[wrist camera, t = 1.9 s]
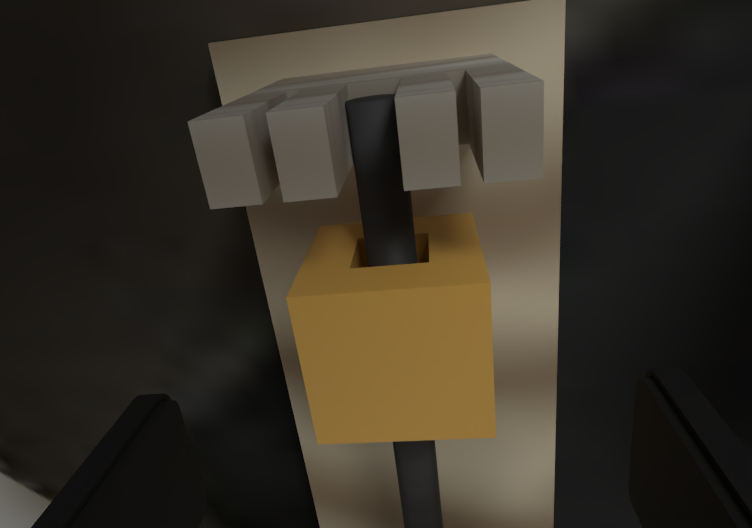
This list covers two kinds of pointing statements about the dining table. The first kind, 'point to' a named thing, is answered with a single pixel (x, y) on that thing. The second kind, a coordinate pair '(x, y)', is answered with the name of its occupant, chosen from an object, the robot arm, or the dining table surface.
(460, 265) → the sleeve
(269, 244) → the cord rig
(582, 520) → the dining table surface
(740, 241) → the dining table surface
